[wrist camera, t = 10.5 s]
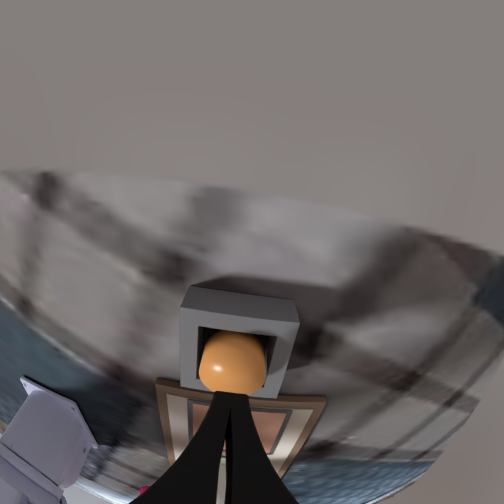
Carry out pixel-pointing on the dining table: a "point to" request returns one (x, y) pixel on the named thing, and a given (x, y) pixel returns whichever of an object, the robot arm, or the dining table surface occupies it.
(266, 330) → the button housing
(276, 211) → the dining table surface
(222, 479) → the white and green cylinder
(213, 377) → the button
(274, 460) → the picture board
